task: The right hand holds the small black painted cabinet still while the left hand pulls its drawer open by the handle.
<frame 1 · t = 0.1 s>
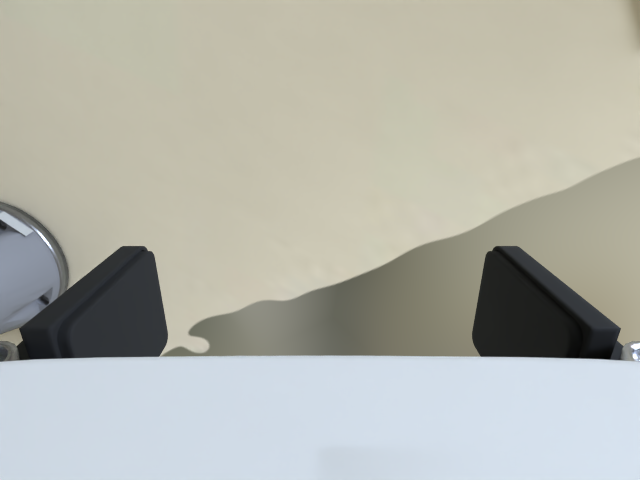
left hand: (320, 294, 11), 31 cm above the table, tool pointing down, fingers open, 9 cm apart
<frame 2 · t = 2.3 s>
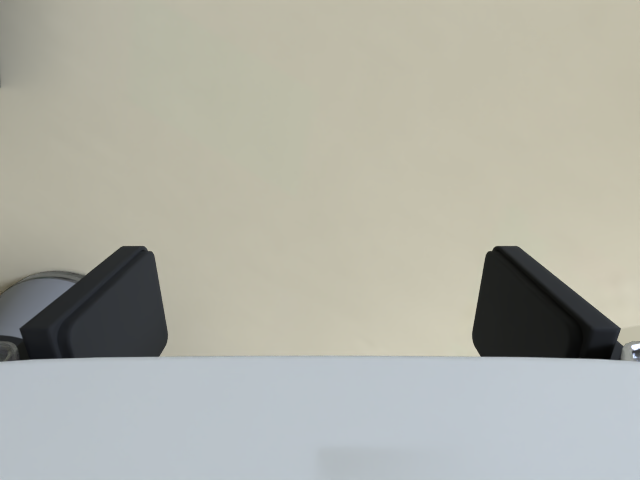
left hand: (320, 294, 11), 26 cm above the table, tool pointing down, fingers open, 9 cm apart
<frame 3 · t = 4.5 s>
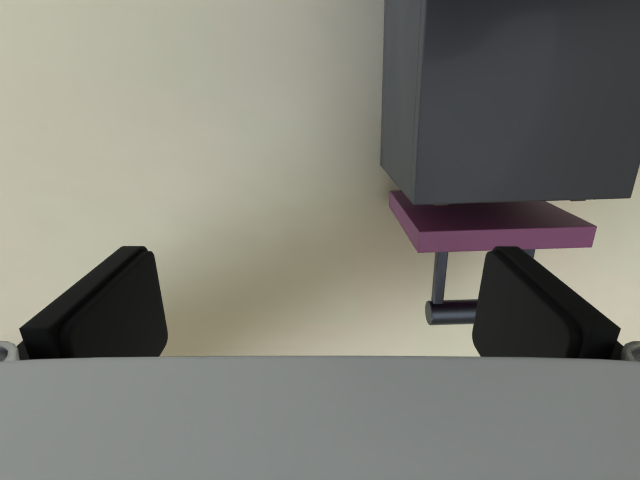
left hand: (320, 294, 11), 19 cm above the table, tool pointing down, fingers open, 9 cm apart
drawer: (481, 159, 23), point 5 cm above the table, slide at 1.7 cm
cabinet: (462, 48, 25), on the table, touching right hand
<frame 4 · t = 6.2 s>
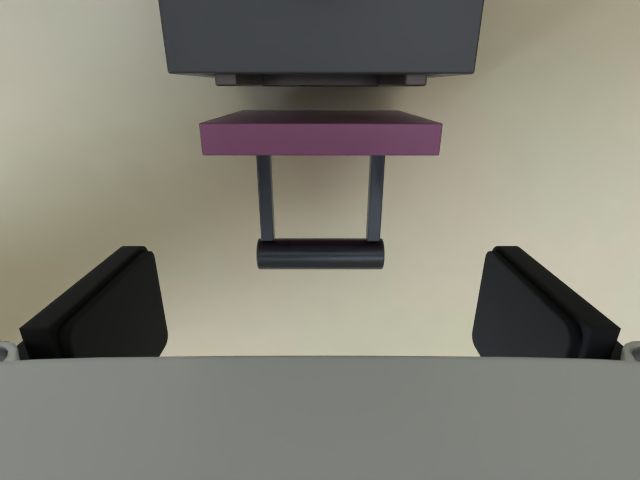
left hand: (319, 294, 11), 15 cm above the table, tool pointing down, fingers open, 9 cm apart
drawer: (320, 50, 17), point 5 cm above the table, slide at 1.7 cm
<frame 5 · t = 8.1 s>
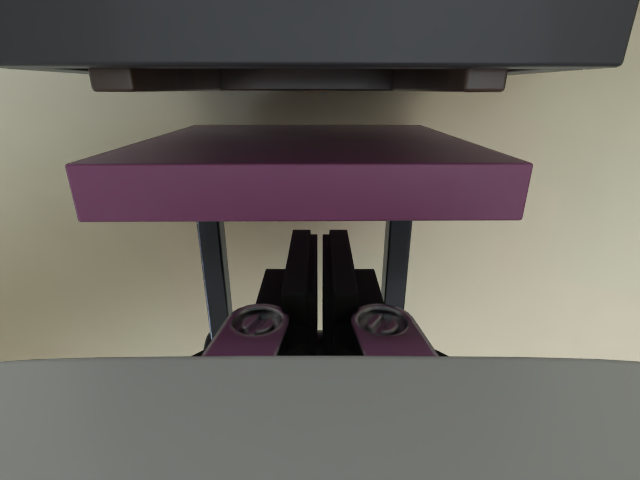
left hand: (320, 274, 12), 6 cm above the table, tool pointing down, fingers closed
drawer: (304, 31, 10), point 5 cm above the table, slide at 1.7 cm
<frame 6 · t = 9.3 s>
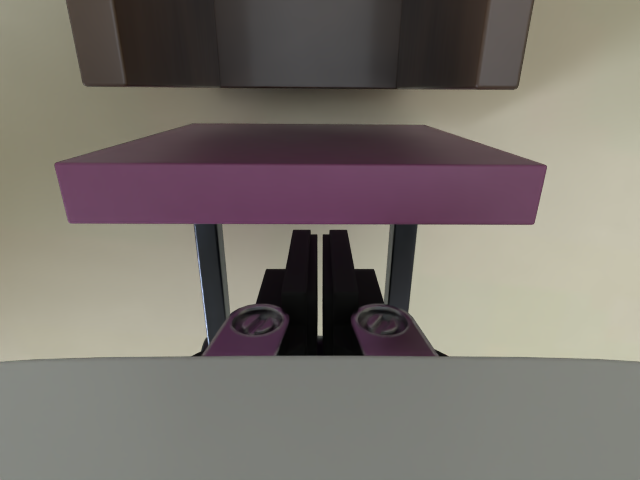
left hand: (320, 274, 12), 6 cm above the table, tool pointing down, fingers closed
drawer: (306, 26, 10), point 5 cm above the table, slide at 8.2 cm, touching left hand
when the right hand's fingers open (6 cm above the table, at t = 11.5 s): cabinet stays where it is, on the table.
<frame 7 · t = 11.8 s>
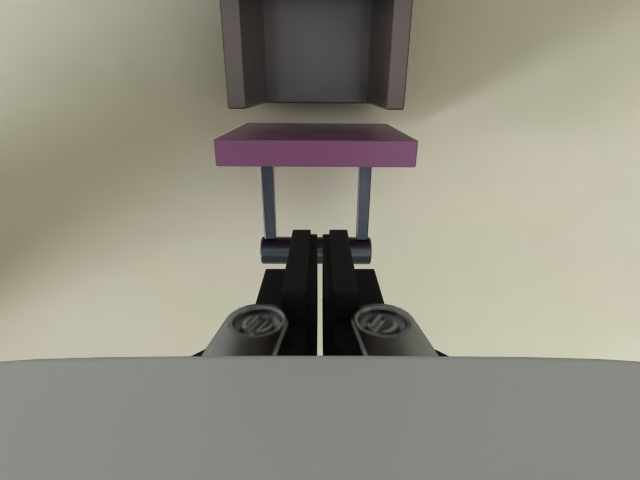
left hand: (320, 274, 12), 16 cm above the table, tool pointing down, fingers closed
drawer: (316, 74, 20), point 5 cm above the table, slide at 8.3 cm
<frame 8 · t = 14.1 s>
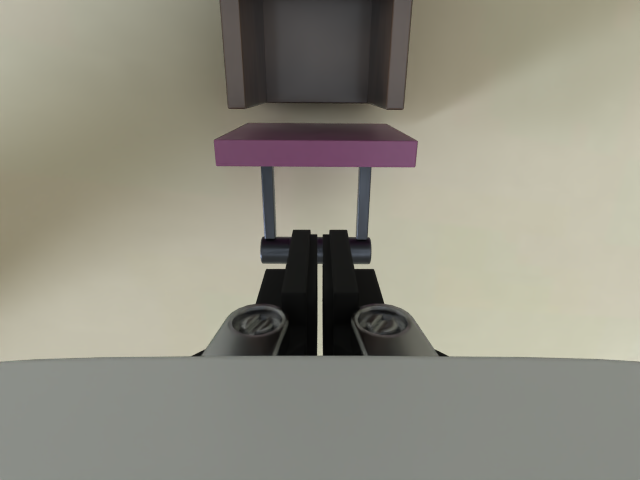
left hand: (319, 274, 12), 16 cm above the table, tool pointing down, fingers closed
drawer: (316, 74, 20), point 5 cm above the table, slide at 8.3 cm
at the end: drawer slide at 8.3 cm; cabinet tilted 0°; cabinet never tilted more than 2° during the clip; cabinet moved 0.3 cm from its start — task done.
